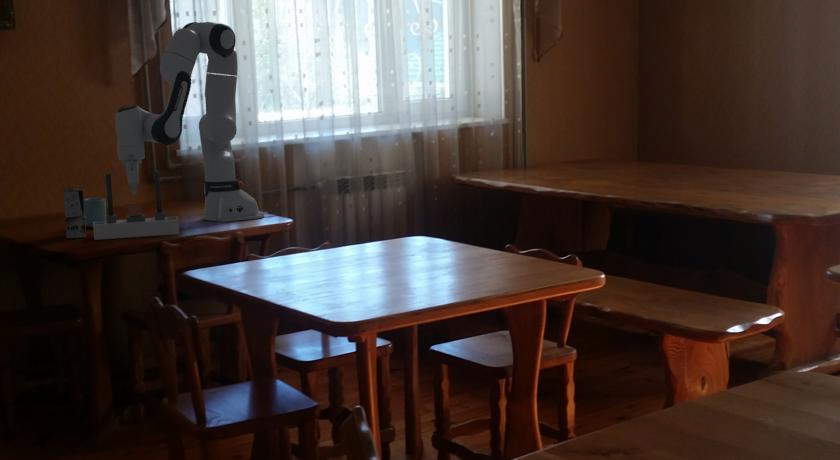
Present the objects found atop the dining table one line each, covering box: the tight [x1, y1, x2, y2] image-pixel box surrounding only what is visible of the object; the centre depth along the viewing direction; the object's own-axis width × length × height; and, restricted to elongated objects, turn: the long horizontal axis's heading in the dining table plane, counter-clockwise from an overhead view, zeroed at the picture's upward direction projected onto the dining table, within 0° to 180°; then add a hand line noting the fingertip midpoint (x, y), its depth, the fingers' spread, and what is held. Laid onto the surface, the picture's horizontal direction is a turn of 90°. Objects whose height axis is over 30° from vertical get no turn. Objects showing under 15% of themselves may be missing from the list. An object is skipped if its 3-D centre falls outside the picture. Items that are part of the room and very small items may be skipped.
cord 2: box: [153, 171, 166, 220], centre depth 361 cm, size 3×4×16 cm
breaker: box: [128, 204, 143, 216], centre depth 360 cm, size 4×1×3 cm, turn 105°
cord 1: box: [105, 173, 117, 224], centre depth 357 cm, size 3×4×16 cm
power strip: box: [92, 213, 180, 241], centre depth 361 cm, size 28×7×7 cm, turn 105°
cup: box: [84, 197, 107, 228], centre depth 378 cm, size 8×8×10 cm
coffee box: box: [62, 187, 87, 239], centre depth 361 cm, size 9×6×16 cm
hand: (134, 194), depth 359 cm, fingers closed
